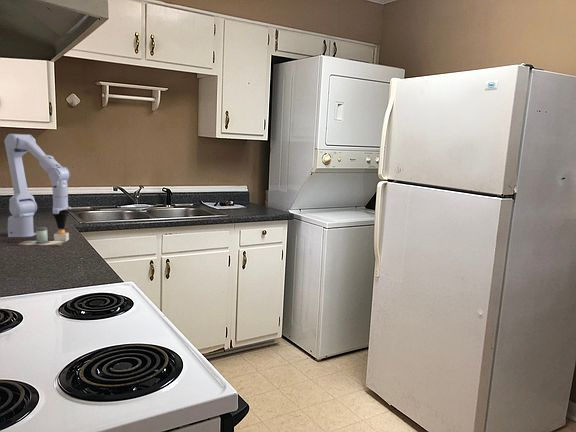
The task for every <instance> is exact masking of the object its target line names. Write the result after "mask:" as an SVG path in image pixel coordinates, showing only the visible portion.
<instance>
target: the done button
mask: <svg viewBox="0 0 576 432" xmlns="http://www.w3.org/2000/svg"><path fill="white" fill-rule="evenodd" d="M57 233H58V234H65V233H66V230H65V229H57Z"/></svg>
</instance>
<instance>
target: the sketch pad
mask: <svg viewBox="0 0 576 432" xmlns="http://www.w3.org/2000/svg"><path fill="white" fill-rule="evenodd" d="M66 242H67V241H54V240H48V242H47V243H37V240H23V241H21V242H20V243H18V244H17V247H19V246H20V247H21V246H22V247H24V246H25V247H26V246H27V247H38V246H39V247H61V246H62V245H64V244H65V243H66Z"/></svg>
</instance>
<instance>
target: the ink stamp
mask: <svg viewBox="0 0 576 432" xmlns="http://www.w3.org/2000/svg"><path fill="white" fill-rule="evenodd" d="M35 231H36V232H35V233H36V241H37V243H47V242H48V241H49V240H48V237H49V236H48V227H46V226H39V227H36V228H35Z"/></svg>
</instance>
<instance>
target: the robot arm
mask: <svg viewBox="0 0 576 432" xmlns="http://www.w3.org/2000/svg"><path fill="white" fill-rule="evenodd" d="M3 141H4V142H3V143H4V146H5V152H6V156H7V157H6V158H7V161H8V162H7V163H8V167H9V168H8V169H9V174H10V179H11V184H12V188H13V189H12V190H13V195H12V196H11V197H10V198H9V200H8V201H9V206H8V209H9V213H10V215H9V216H8V219H7V237H8V238H32V237H34V236H35V235H36V232H34V230H35V229H34V215H35V213H36V212H37V210H38V204H37V202H36V201H35V197H34V196H33V195H32V194H31V193H29V188H28V184H27V179H26V175H25V168H24V163H23V156H24V155H25V154H27V153H28V152H29V153H30V154H31V155H33V157H34V158H35V159H37V160H38V161H39V162H38V164H39V166H40V167H41V168H42V169H44V171H45V172H46V173H47V174H48V179H49V180H50V185H51V186H52V212H51V213H52V216H53V218H54V219H55V222H56V226H57V230H65V227H66V221H67V218H68V216H69V214H70V211H69V210H71V209H72V207H71V206H69V197H68V196H69V195H68V194H69V193H68V191H69V190H68V189H69V188H68V181H69V180H70V178H71V171H70V169H69V168H68V167H65V166H62V165H61V163H59V162H58V161H57V160H56V159H55V157H54V156H53V155H49V154H48V155H47V154H46V153H45V152H44V151H43V149H41V147H40V146H39V145H38V144H37V143H36V142H37V140H36V138H35V137H33V135H32V134H29V133H28V134H24V133H23V134H22V133H21V134H20V133H9V134H7V135H6V137H5V138H4V140H3ZM36 236H37V235H36Z"/></svg>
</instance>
